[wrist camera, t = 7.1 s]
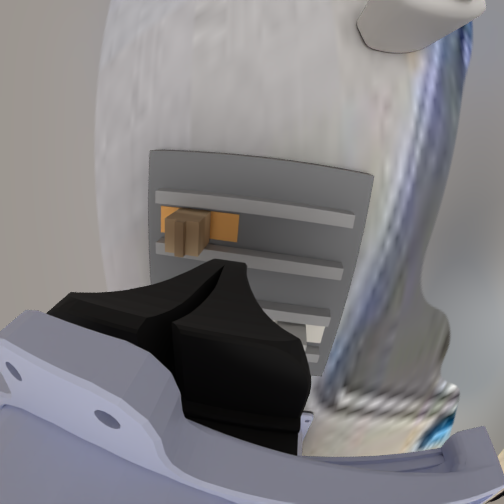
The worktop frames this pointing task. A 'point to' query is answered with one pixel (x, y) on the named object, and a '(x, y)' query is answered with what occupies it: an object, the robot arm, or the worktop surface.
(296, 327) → the grooved grey cube
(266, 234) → the switch board
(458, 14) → the eye dropper bottle
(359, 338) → the worktop surface
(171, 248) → the oak tab
